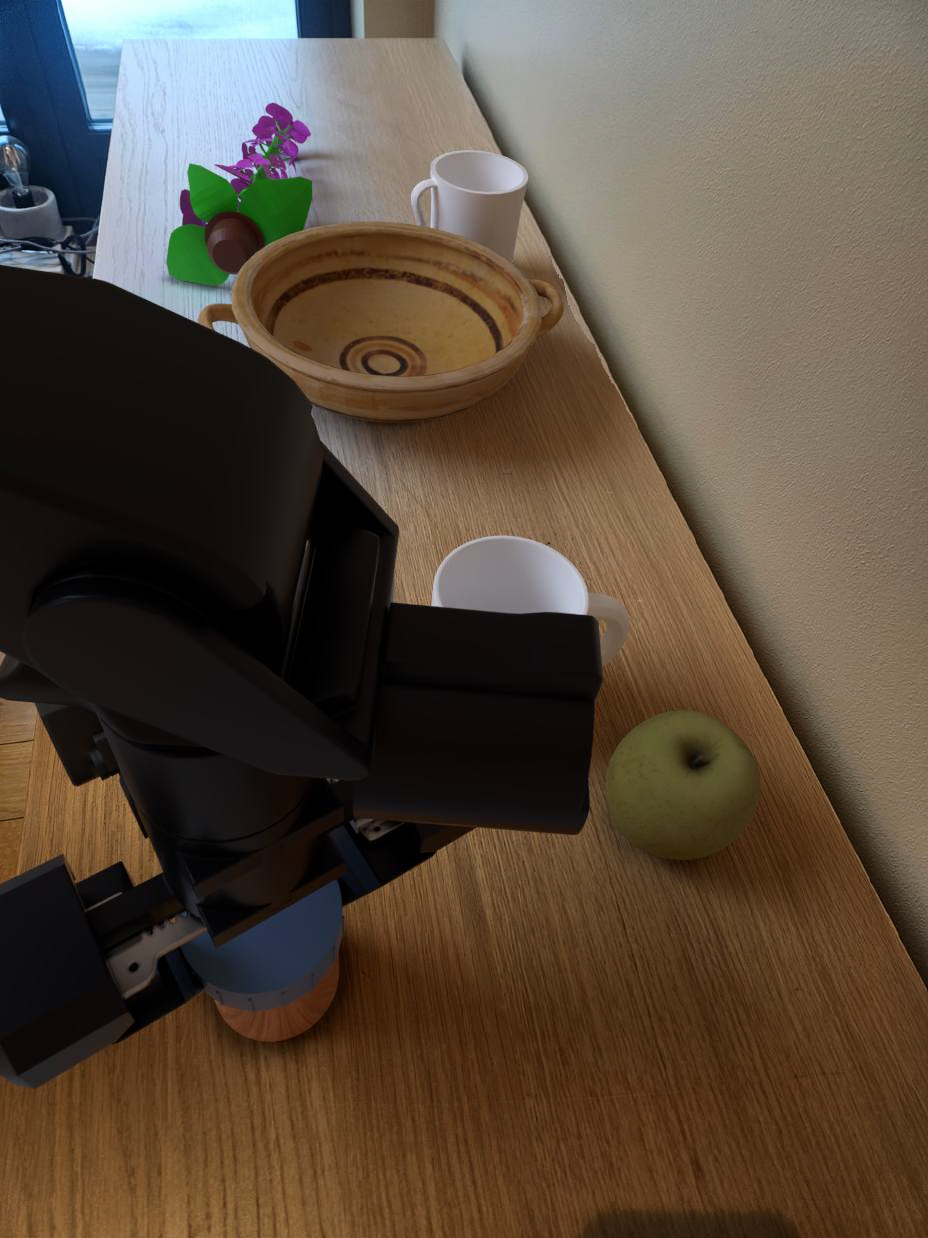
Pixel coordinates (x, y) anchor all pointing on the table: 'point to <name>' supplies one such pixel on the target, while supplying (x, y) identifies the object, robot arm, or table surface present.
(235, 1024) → the jar
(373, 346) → the ceramic bowl
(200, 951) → the jar lid
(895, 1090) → the table surface
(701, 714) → the apple
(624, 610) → the mug
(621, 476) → the table surface
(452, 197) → the mug
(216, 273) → the potted plant
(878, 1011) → the table surface
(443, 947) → the table surface
